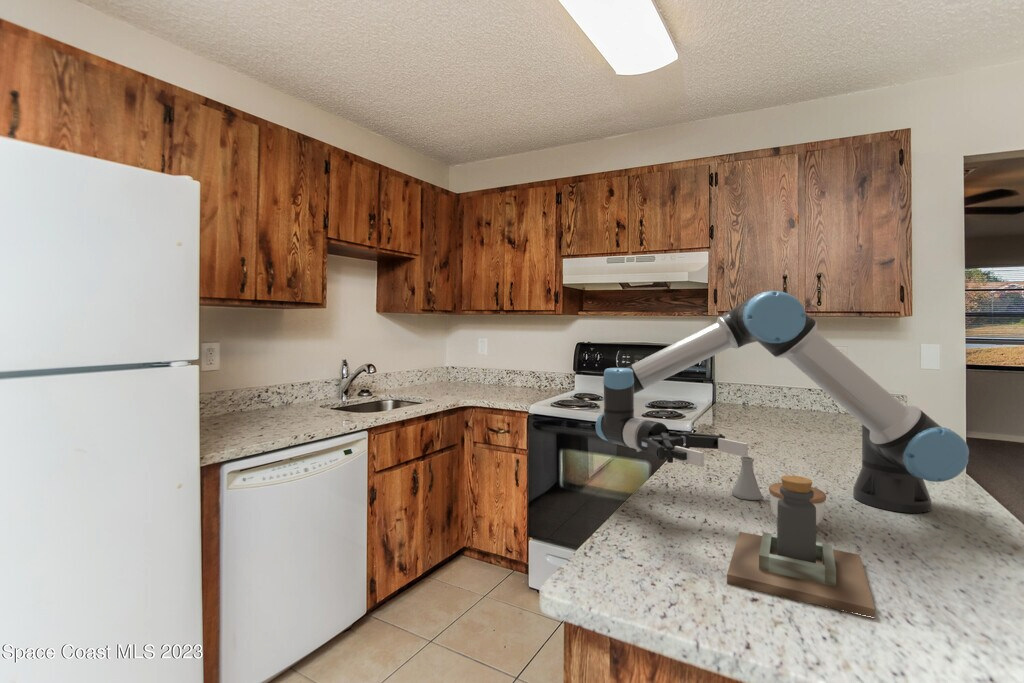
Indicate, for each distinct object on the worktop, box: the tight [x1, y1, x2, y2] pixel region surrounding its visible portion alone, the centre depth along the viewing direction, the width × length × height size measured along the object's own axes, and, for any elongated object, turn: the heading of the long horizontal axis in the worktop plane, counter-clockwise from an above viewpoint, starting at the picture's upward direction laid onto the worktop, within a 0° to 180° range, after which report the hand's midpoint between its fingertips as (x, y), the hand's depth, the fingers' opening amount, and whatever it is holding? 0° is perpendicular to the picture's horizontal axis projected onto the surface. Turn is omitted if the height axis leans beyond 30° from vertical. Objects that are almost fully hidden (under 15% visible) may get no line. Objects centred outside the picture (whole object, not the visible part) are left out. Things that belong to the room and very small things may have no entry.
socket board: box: [726, 531, 876, 618], centre depth 84 cm, size 20×20×4 cm
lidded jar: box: [768, 482, 827, 526], centre depth 104 cm, size 11×11×9 cm
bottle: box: [776, 474, 817, 563], centre depth 84 cm, size 6×6×15 cm
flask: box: [731, 456, 763, 501], centre depth 123 cm, size 7×7×10 cm
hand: (725, 454), depth 95 cm, fingers open, 13 cm apart
